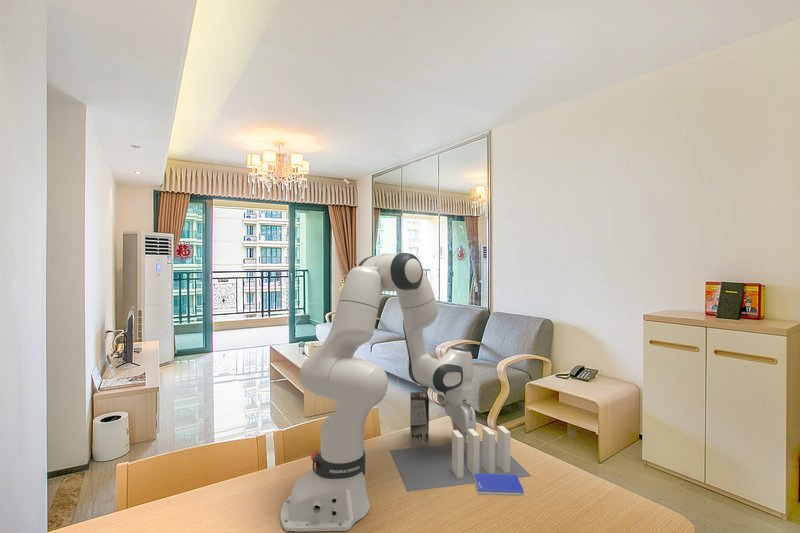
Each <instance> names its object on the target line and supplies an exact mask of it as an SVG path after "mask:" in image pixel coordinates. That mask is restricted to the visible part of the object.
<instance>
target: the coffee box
mask: <svg viewBox="0 0 800 533" xmlns="http://www.w3.org/2000/svg"><path fill="white" fill-rule="evenodd" d="M429 398H430V397H429V394H428V391H417V392H414V391H413V392H412V391H410V405H409V406H410V411H409V412H410V414H409V416H410V418H409V419H410V424H409V425H410V427H409V428H410V445H411V446H429V440H430V438H429V437H430V436H429V429H430V427H429V425H430V423H429V422H430V421H429V420H430V419H429V418H430V399H429Z"/></svg>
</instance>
